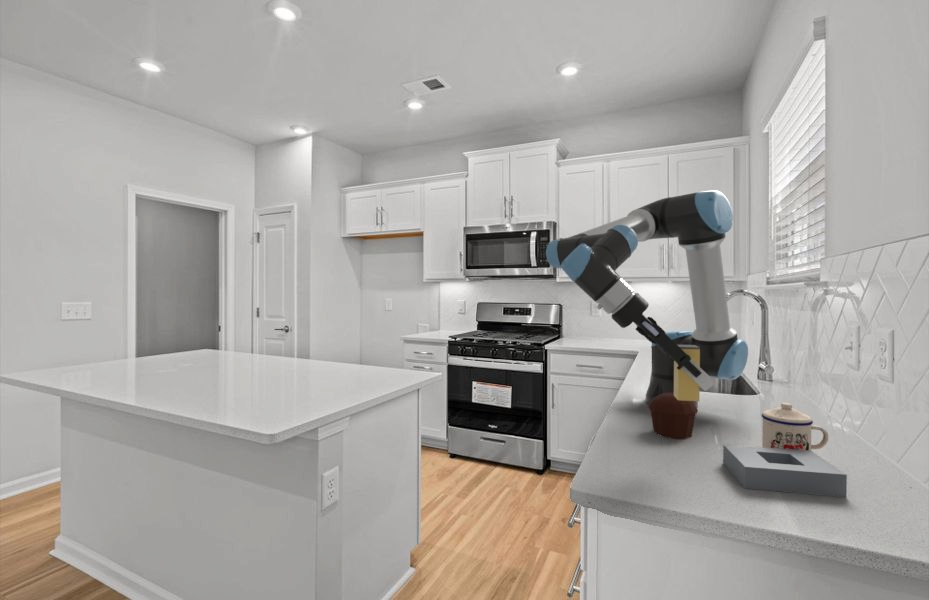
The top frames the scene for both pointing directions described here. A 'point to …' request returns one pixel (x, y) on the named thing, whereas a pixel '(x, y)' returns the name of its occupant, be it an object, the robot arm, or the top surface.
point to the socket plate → (784, 470)
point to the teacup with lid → (789, 429)
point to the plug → (686, 377)
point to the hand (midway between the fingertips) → (706, 383)
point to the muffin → (672, 416)
